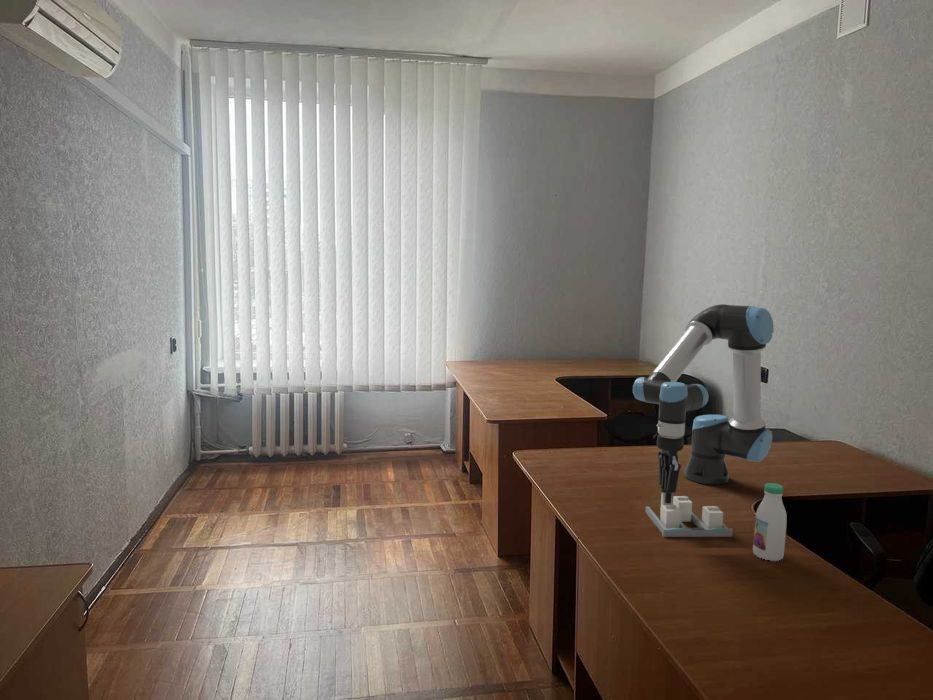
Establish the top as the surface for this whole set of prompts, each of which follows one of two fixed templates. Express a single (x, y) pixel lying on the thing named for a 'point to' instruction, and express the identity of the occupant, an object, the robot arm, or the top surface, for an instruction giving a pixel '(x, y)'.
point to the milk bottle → (770, 525)
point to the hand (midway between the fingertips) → (665, 511)
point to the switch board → (690, 532)
